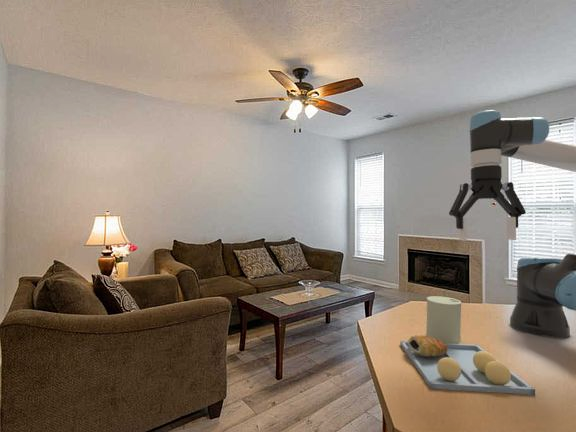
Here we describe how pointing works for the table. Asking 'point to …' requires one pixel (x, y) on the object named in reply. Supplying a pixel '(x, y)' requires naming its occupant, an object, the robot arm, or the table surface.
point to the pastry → (427, 346)
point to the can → (444, 319)
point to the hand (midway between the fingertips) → (487, 240)
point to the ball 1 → (482, 360)
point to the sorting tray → (463, 372)
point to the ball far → (449, 369)
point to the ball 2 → (497, 373)
